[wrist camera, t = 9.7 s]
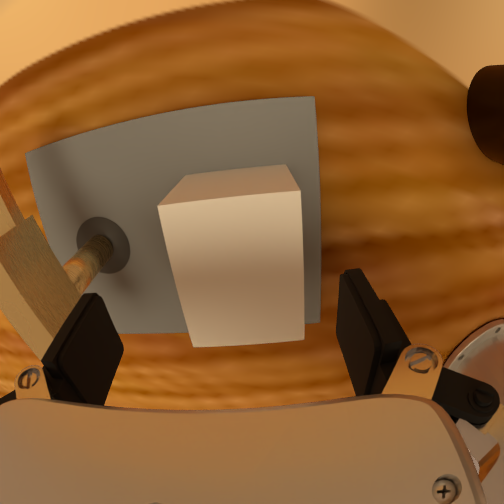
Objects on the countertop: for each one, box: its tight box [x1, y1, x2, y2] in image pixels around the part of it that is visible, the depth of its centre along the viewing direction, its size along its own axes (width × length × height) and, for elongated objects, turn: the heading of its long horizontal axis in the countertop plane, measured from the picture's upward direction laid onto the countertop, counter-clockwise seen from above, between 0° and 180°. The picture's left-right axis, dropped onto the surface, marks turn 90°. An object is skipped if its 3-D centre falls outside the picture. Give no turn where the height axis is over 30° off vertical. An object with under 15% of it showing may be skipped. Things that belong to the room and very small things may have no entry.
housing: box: [25, 96, 321, 334], centre depth 21 cm, size 16×20×2 cm
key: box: [0, 169, 113, 360], centre depth 15 cm, size 2×14×9 cm, turn 22°
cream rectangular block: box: [157, 164, 304, 347], centre depth 17 cm, size 8×6×6 cm
